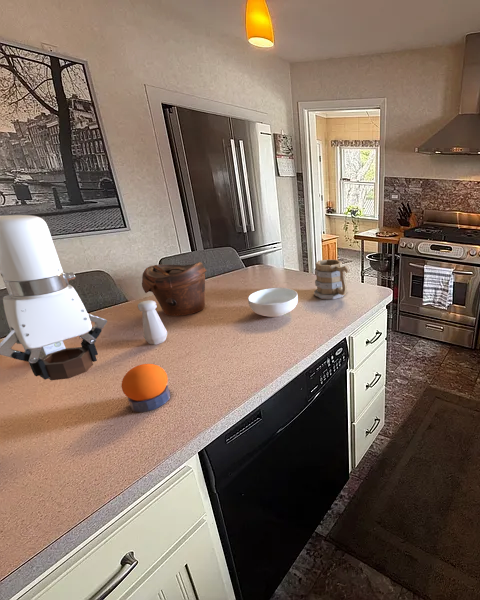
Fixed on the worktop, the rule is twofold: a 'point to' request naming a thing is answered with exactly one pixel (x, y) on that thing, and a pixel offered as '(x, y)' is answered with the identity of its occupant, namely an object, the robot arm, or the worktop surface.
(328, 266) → the tankard
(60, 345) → the medicine box
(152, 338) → the salt shaker
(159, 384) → the ball
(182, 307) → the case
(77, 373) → the napkin ring
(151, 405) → the cradle
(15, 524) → the worktop surface
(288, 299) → the cereal bowl
